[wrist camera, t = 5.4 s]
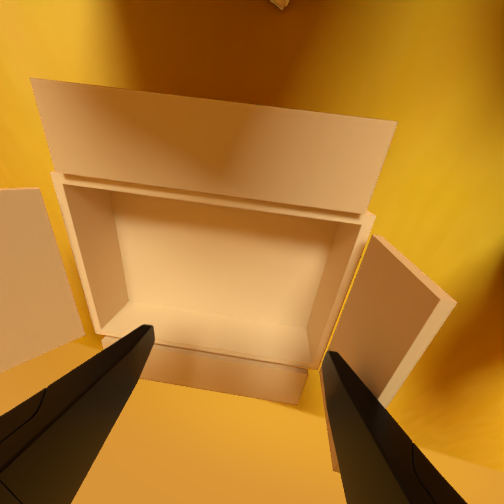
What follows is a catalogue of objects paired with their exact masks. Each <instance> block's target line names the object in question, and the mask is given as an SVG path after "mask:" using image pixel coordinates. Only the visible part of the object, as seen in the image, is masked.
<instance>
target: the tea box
mask: <svg viewBox="0 0 504 504" xmlns="http://www.w3.org/2000/svg"><path fill="white" fill-rule="evenodd" d="M269 1H271V2H272V3H274V4H275V5H276V6H277V7H278V8H280V9H281V10H282V9H284V7H286V6H287V5H288V3H289V0H269Z"/></svg>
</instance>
